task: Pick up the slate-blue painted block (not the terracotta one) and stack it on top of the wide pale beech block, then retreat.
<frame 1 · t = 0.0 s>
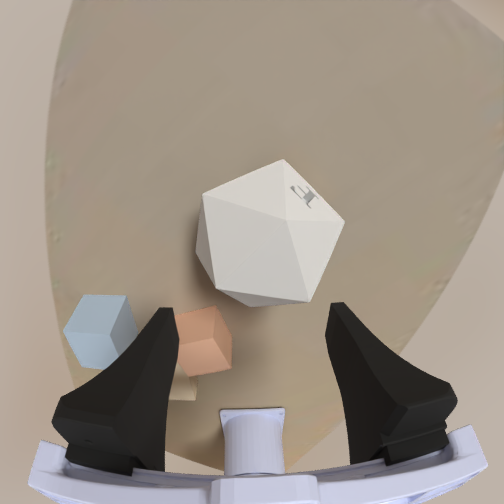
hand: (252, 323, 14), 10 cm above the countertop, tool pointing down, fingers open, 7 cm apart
die: (261, 211, 22), on the countertop
terracotta block: (203, 325, 28), on the countertop
beech base: (163, 359, 30), on the countertop
blue block: (111, 313, 27), on the countertop
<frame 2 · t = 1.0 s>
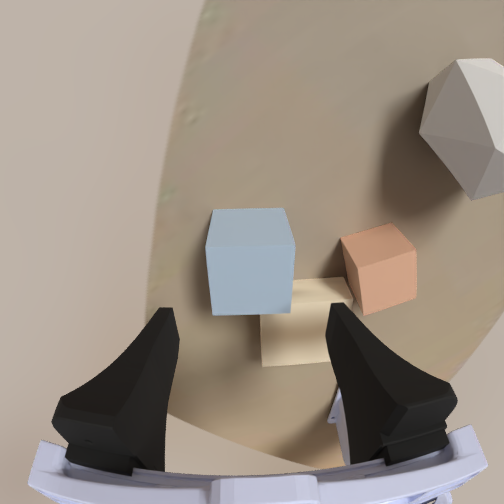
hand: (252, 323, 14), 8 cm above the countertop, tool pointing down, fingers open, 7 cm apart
die: (449, 114, 17), on the countertop
terracotta block: (369, 252, 22), on the countertop
beech base: (299, 310, 25), on the countertop
blue block: (249, 239, 21), on the countertop
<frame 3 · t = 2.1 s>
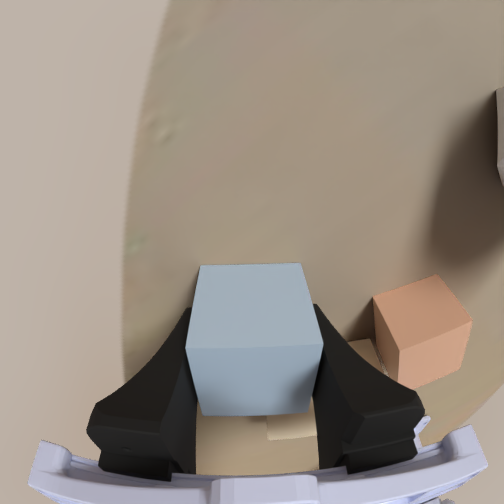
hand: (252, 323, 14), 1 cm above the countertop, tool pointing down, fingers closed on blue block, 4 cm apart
terracotta block: (405, 310, 16), on the countertop
beech base: (313, 374, 19), on the countertop
blue block: (251, 303, 15), on the countertop, touching gripper
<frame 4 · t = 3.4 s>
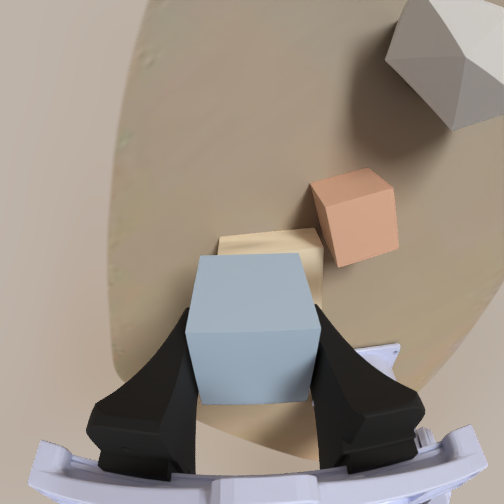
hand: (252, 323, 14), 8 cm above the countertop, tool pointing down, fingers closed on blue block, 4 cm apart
die: (424, 55, 15), on the countertop
terracotta block: (344, 202, 20), on the countertop
beech base: (270, 269, 23), on the countertop
blue block: (250, 293, 15), point 6 cm above the countertop, touching gripper
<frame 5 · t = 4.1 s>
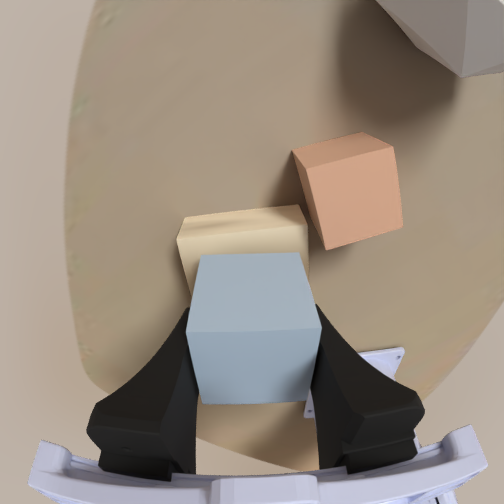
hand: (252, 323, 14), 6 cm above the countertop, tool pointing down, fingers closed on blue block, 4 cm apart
die: (422, 7, 11), on the countertop
terracotta block: (335, 174, 16), on the countertop
beech base: (247, 257, 19), on the countertop
blue block: (250, 293, 15), point 4 cm above the countertop, touching gripper
when the fingers open (5 cm above the countertop, at t = 4.6 s): blue block stays where it is, resting on beech base.
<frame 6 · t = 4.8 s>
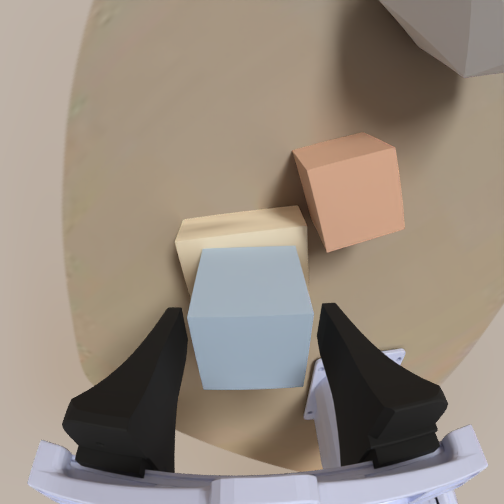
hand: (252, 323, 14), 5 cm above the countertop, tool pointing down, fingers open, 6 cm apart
die: (424, 6, 11), on the countertop
terracotta block: (336, 174, 16), on the countertop
beech base: (247, 258, 19), on the countertop, touching blue block
blue block: (250, 284, 16), point 3 cm above the countertop, touching beech base
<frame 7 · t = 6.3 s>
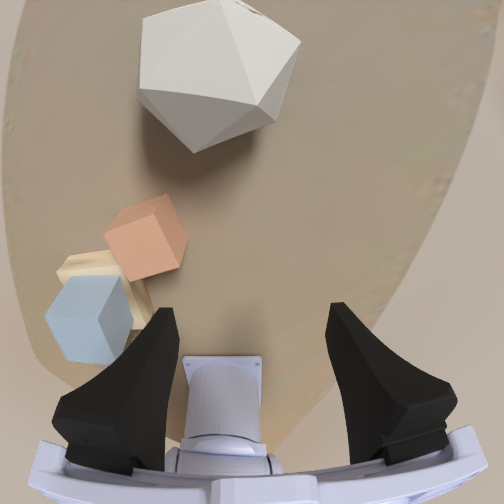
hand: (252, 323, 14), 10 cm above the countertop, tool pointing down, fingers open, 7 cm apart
die: (217, 71, 18), on the countertop
terracotta block: (154, 224, 23), on the countertop
beech base: (112, 280, 26), on the countertop, touching blue block
blue block: (102, 298, 23), point 3 cm above the countertop, touching beech base
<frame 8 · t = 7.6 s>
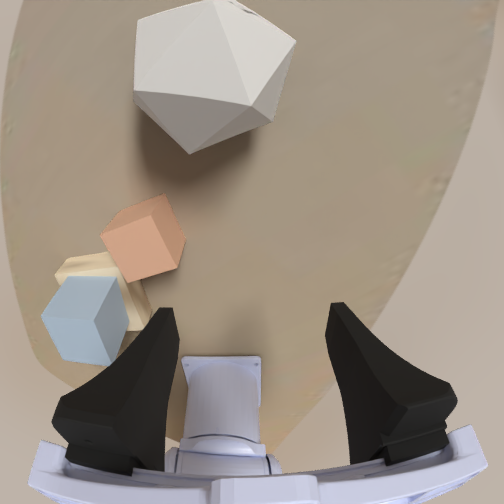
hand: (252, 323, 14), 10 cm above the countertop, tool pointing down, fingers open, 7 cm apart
die: (214, 72, 18), on the countertop
terracotta block: (152, 224, 23), on the countertop
beech base: (110, 282, 26), on the countertop, touching blue block
blue block: (98, 299, 23), point 3 cm above the countertop, touching beech base
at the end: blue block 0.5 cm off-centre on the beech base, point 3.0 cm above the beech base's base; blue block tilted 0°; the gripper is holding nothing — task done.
